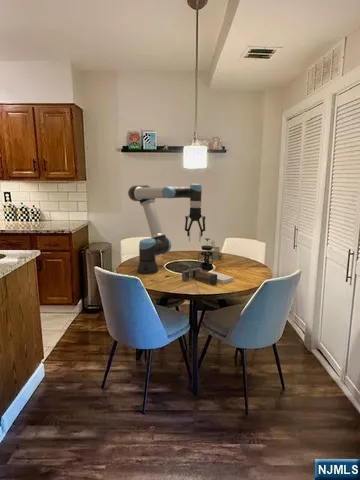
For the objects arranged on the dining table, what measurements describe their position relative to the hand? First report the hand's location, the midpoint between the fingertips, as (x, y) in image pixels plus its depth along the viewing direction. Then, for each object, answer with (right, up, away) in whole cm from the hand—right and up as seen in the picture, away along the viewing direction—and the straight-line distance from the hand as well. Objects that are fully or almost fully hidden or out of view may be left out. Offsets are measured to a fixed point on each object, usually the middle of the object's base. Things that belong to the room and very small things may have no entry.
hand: (194, 241), depth 219 cm
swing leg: (+7, -27, -7) cm, 28 cm away
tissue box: (+19, -15, +60) cm, 65 cm away
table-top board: (+15, -26, -1) cm, 30 cm away
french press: (+10, -21, +26) cm, 35 cm away
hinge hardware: (-1, -26, -1) cm, 26 cm away
